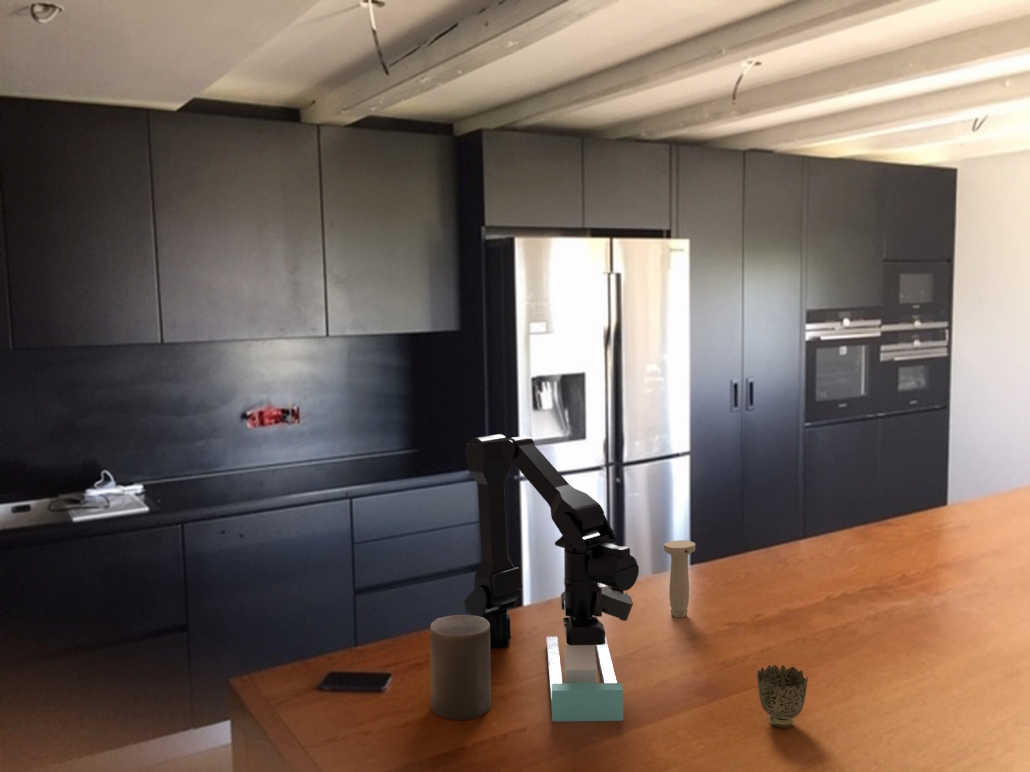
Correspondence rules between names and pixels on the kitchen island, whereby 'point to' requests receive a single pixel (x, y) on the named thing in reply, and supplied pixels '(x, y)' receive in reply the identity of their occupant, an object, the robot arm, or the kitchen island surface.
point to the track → (584, 690)
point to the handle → (679, 575)
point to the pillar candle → (460, 667)
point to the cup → (782, 694)
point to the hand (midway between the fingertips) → (582, 664)
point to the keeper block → (580, 664)
